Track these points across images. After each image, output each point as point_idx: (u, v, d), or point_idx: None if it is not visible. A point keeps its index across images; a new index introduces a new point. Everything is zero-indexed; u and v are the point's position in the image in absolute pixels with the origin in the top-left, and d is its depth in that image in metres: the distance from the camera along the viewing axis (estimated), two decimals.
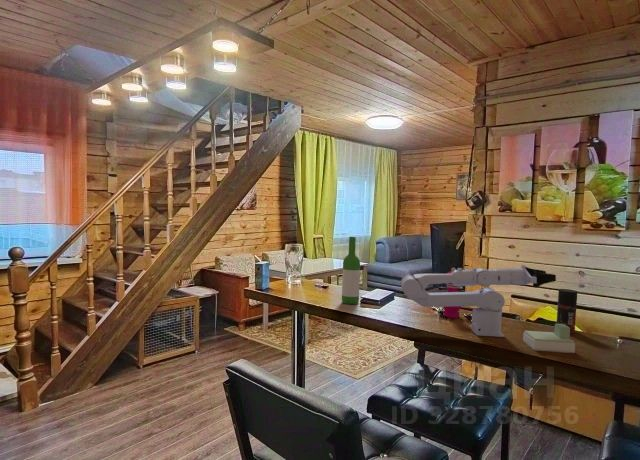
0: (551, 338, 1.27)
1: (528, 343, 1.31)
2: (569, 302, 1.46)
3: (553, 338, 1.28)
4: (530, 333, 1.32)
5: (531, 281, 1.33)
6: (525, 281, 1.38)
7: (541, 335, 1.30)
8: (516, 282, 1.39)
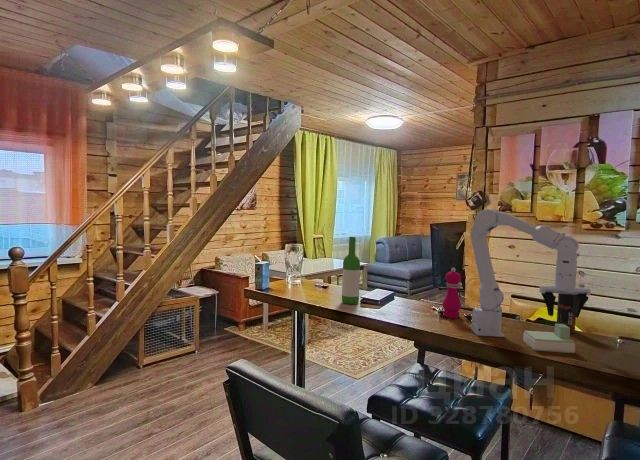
0: (551, 338, 1.27)
1: (528, 343, 1.31)
2: (569, 302, 1.46)
3: (553, 338, 1.28)
4: (530, 333, 1.32)
5: (540, 287, 1.30)
6: (554, 286, 1.30)
7: (541, 335, 1.30)
8: None
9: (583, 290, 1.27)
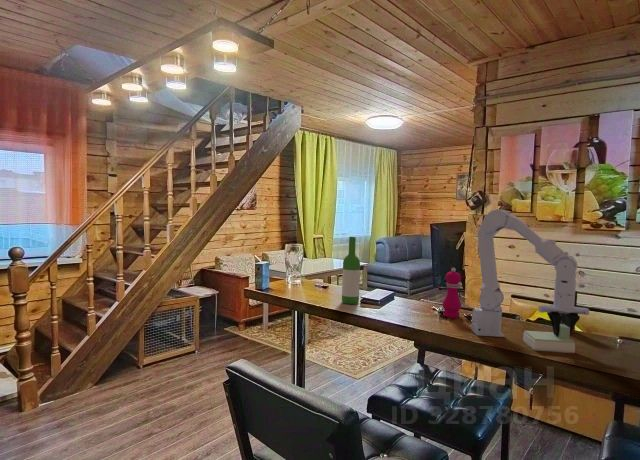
0: (551, 338, 1.27)
1: (528, 343, 1.31)
2: None
3: (553, 338, 1.28)
4: (530, 333, 1.32)
5: (539, 306, 1.30)
6: (552, 305, 1.31)
7: (541, 335, 1.30)
8: None
9: (582, 310, 1.27)
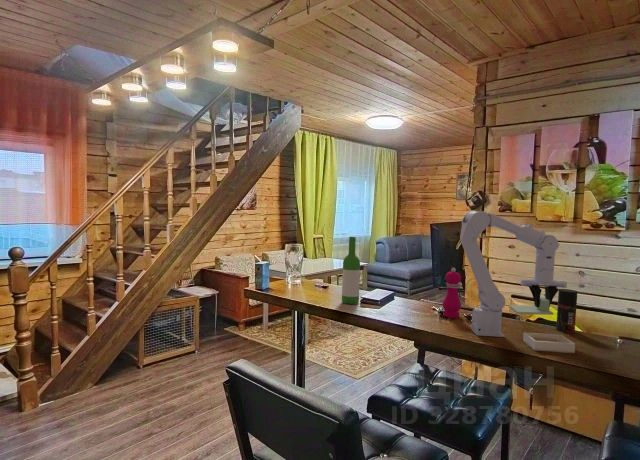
0: (532, 311, 1.39)
1: (528, 343, 1.31)
2: (569, 302, 1.46)
3: (534, 311, 1.39)
4: (513, 307, 1.44)
5: (521, 280, 1.42)
6: (534, 280, 1.42)
7: (523, 308, 1.42)
8: None
9: (560, 283, 1.39)
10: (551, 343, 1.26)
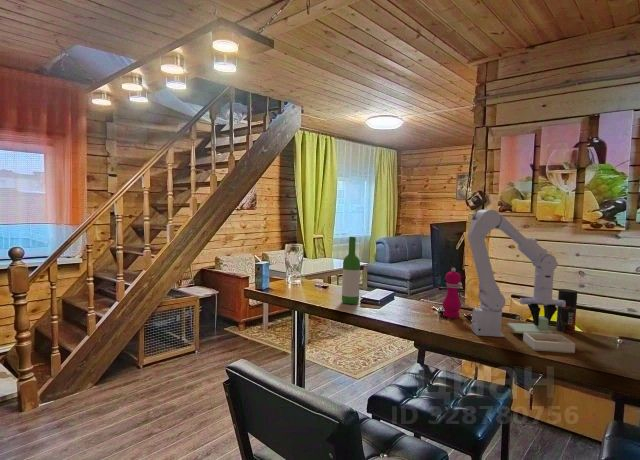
0: (531, 329, 1.39)
1: (528, 343, 1.31)
2: (569, 302, 1.46)
3: (533, 329, 1.39)
4: (513, 325, 1.44)
5: (520, 299, 1.43)
6: (533, 298, 1.43)
7: (522, 327, 1.42)
8: None
9: (559, 302, 1.39)
10: (551, 343, 1.26)
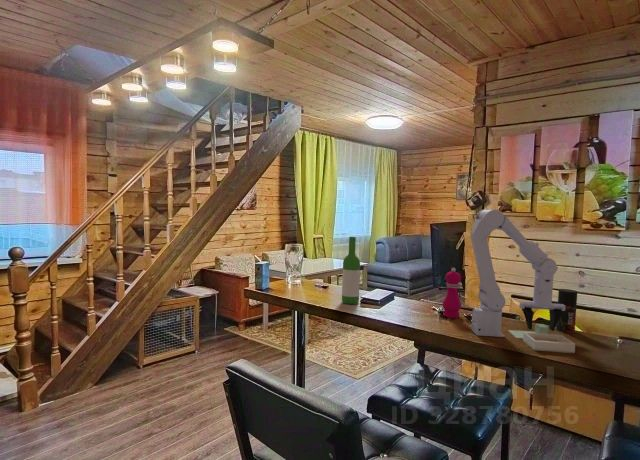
0: None
1: (528, 343, 1.31)
2: (569, 302, 1.46)
3: None
4: (512, 332, 1.44)
5: (520, 303, 1.43)
6: (532, 302, 1.43)
7: (522, 334, 1.42)
8: None
9: (558, 306, 1.39)
10: (551, 343, 1.26)
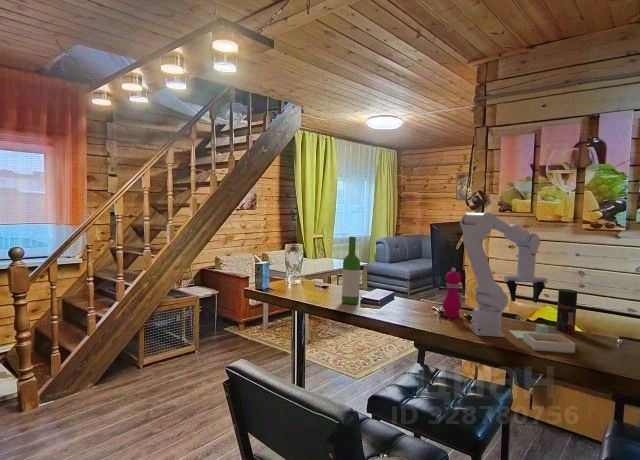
0: None
1: (528, 343, 1.31)
2: (569, 302, 1.46)
3: None
4: (513, 332, 1.44)
5: (504, 276, 1.49)
6: (516, 276, 1.50)
7: None
8: None
9: (541, 279, 1.46)
10: (551, 343, 1.26)
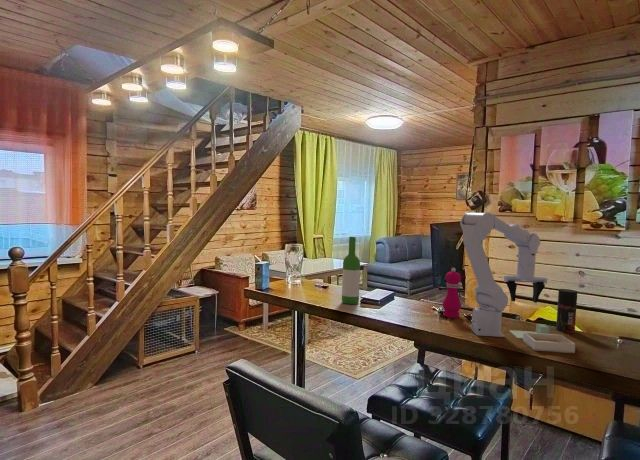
0: None
1: (528, 343, 1.31)
2: (569, 302, 1.46)
3: None
4: (513, 332, 1.44)
5: (504, 276, 1.49)
6: (516, 276, 1.50)
7: None
8: None
9: (541, 279, 1.46)
10: (551, 343, 1.26)
